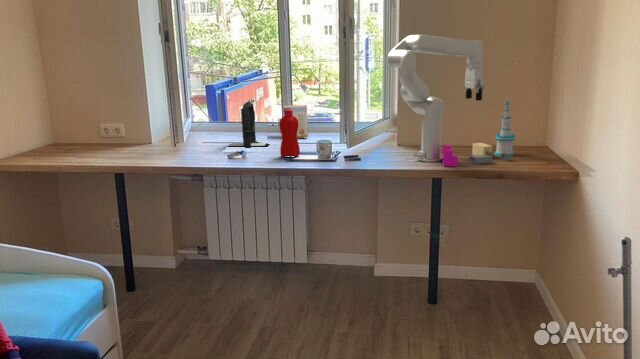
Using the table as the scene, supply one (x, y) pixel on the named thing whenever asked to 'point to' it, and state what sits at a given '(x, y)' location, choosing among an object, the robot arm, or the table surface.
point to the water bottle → (289, 134)
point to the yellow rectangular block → (481, 149)
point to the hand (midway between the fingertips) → (473, 99)
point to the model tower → (505, 135)
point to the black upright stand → (248, 128)
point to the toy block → (449, 156)
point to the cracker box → (299, 118)
